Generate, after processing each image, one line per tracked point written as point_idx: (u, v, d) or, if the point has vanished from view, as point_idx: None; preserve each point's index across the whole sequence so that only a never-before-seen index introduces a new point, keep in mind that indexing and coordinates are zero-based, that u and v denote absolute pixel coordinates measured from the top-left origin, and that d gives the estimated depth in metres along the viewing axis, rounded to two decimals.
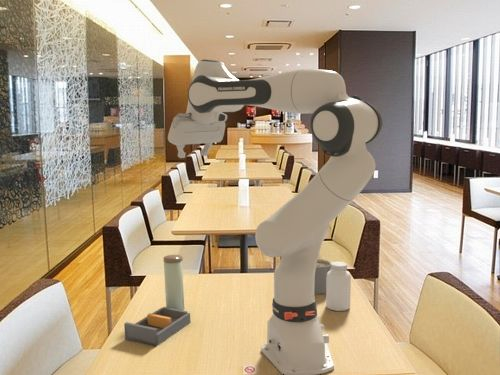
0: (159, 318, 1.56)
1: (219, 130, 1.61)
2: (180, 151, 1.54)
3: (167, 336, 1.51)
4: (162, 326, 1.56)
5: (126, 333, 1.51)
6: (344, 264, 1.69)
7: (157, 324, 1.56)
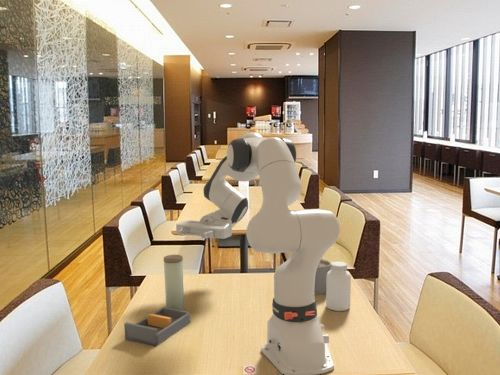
0: (159, 318, 1.56)
1: (223, 226, 1.84)
2: None
3: (167, 336, 1.51)
4: (162, 326, 1.56)
5: (126, 333, 1.51)
6: (344, 264, 1.69)
7: (157, 324, 1.56)
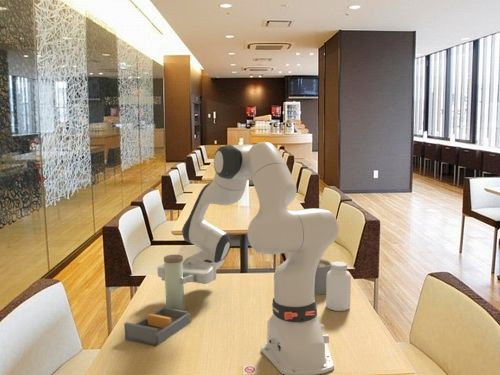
0: (159, 318, 1.56)
1: (206, 269, 1.75)
2: (164, 275, 1.75)
3: (167, 336, 1.51)
4: (162, 326, 1.56)
5: (126, 333, 1.51)
6: (344, 264, 1.69)
7: (157, 324, 1.56)
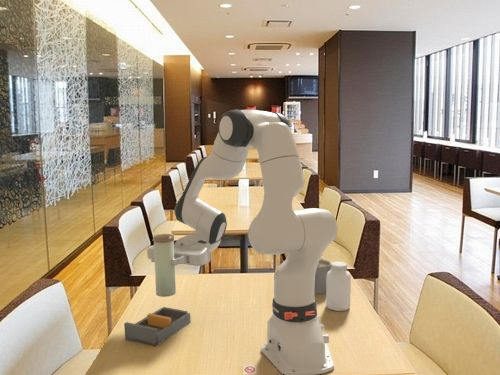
0: (159, 318, 1.56)
1: (199, 250, 1.61)
2: None
3: (167, 336, 1.51)
4: (162, 326, 1.56)
5: (126, 333, 1.51)
6: (344, 264, 1.69)
7: (157, 324, 1.56)
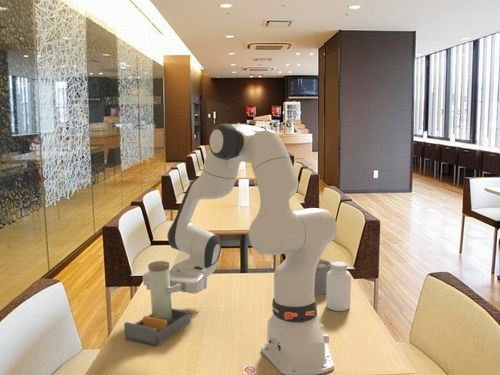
0: (155, 321, 1.54)
1: (195, 277, 1.59)
2: None
3: (167, 336, 1.51)
4: (158, 329, 1.54)
5: (126, 333, 1.51)
6: (344, 264, 1.69)
7: (153, 327, 1.55)
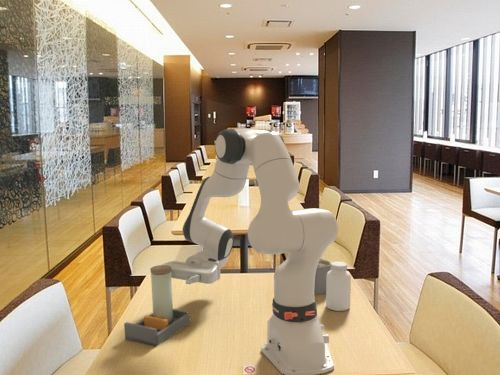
0: (156, 320, 1.54)
1: (210, 269, 1.67)
2: None
3: (167, 336, 1.51)
4: (159, 328, 1.54)
5: (126, 333, 1.51)
6: (344, 264, 1.69)
7: (154, 326, 1.55)
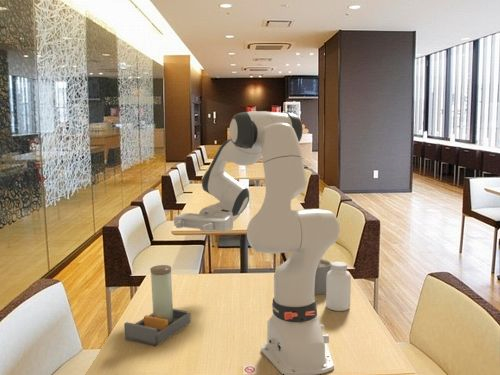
0: (156, 320, 1.54)
1: (223, 218, 1.73)
2: None
3: (167, 336, 1.51)
4: (159, 328, 1.54)
5: (126, 333, 1.51)
6: (344, 264, 1.69)
7: (154, 326, 1.55)
